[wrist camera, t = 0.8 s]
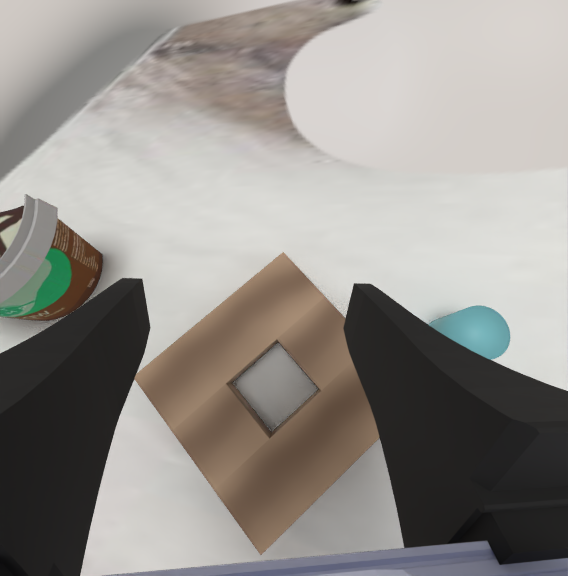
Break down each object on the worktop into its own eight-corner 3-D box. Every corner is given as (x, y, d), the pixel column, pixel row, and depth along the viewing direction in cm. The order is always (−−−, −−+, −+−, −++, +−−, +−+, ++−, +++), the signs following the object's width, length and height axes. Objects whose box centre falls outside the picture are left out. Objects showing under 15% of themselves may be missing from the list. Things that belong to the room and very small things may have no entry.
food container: (-15, 350, 28) (-177, 339, 18) (-17, 283, 30) (-167, 240, 20) (127, 314, 29) (40, 284, 19) (118, 250, 30) (34, 191, 20)
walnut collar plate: (407, 395, 26) (419, 397, 24) (264, 536, 24) (260, 555, 22) (284, 262, 29) (283, 252, 27) (147, 376, 27) (132, 376, 25)
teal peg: (477, 342, 27) (521, 334, 22) (447, 371, 26) (485, 371, 21) (443, 309, 28) (479, 295, 22) (414, 338, 27) (442, 329, 22)
